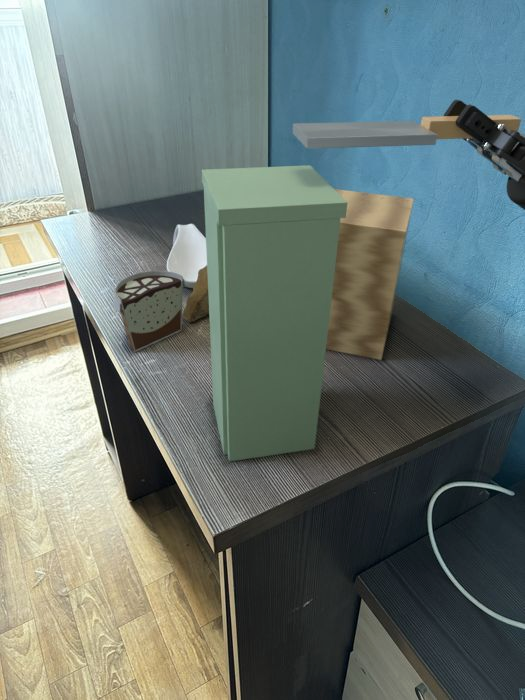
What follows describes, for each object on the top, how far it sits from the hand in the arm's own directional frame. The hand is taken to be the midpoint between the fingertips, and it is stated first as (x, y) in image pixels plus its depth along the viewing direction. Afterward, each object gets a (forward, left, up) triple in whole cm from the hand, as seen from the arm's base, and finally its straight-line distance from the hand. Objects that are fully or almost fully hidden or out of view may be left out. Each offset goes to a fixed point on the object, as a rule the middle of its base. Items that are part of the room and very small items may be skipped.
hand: (456, 111), depth 52 cm
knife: (+3, +3, -2) cm, 5 cm away
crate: (+16, -11, -38) cm, 43 cm away
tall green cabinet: (+12, +16, -38) cm, 43 cm away
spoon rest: (+51, -11, -38) cm, 65 cm away
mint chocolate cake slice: (+40, +11, -38) cm, 56 cm away
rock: (+38, -1, -38) cm, 54 cm away
